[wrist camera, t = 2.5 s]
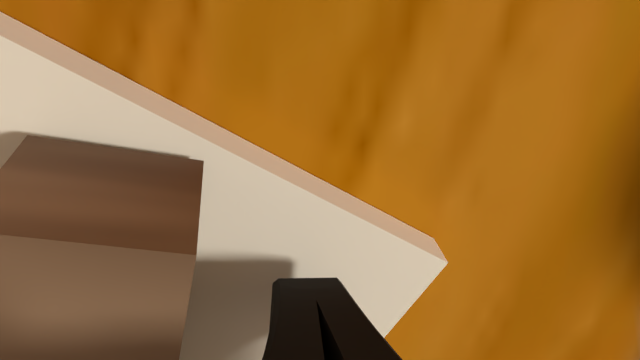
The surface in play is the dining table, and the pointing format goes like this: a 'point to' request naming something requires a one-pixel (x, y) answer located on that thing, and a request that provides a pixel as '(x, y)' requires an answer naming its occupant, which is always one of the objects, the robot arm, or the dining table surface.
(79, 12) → the dining table surface
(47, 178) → the leg
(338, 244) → the seat board
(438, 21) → the dining table surface
